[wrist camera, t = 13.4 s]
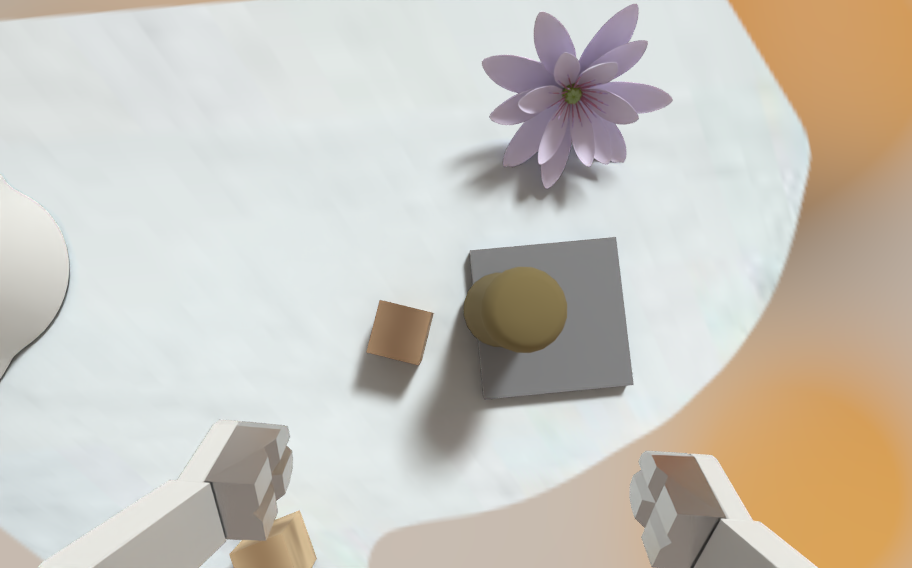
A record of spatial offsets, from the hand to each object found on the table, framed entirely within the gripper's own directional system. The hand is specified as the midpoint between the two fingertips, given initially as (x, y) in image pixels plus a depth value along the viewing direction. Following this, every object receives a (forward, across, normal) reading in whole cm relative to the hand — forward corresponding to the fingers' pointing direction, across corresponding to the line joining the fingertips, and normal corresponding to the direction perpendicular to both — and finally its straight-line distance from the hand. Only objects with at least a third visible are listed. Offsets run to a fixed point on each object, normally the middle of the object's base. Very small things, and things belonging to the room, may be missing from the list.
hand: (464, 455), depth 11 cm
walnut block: (+24, +4, +14) cm, 28 cm away
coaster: (+25, -8, +12) cm, 29 cm away
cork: (+24, -4, +11) cm, 27 cm away
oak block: (+14, +12, +28) cm, 34 cm away
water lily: (+34, -7, -1) cm, 35 cm away
